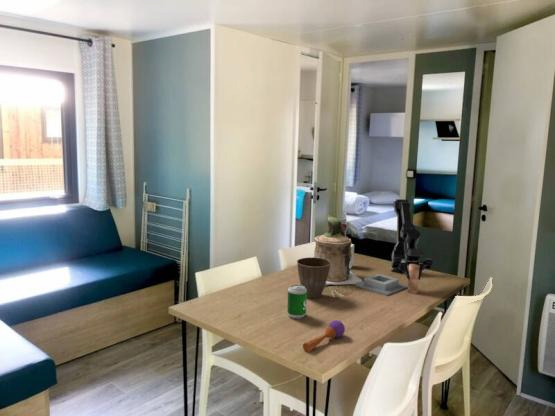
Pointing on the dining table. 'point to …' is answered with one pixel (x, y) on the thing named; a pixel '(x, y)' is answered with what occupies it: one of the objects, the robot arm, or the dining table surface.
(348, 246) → the cookie jar
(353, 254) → the supplement box
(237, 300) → the dining table surface
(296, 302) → the soda can
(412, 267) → the peg
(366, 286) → the socket block
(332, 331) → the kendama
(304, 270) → the plant pot
